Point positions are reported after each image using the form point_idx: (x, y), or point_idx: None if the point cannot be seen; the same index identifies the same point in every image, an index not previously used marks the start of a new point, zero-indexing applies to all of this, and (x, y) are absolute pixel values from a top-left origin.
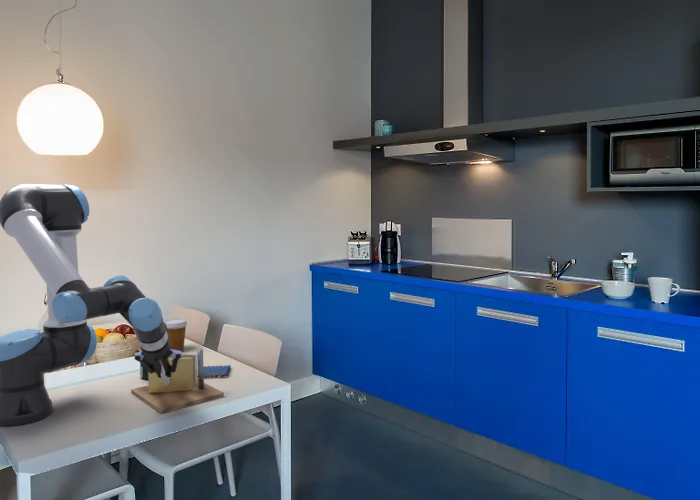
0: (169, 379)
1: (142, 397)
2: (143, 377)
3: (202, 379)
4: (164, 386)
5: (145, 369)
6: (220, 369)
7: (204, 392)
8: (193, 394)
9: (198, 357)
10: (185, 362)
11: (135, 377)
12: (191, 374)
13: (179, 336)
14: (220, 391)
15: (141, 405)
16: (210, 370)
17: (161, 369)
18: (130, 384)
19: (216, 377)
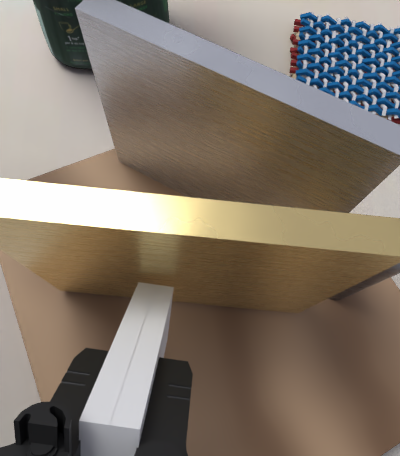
0: (170, 308)
1: (22, 337)
2: (57, 58)
3: (371, 285)
4: None
5: (55, 27)
6: (381, 58)
7: (361, 355)
8: (303, 372)
9: None
10: (322, 261)
11: (33, 31)
12: (326, 293)
13: None
14: None
15: (18, 408)
16: (343, 64)
17: (83, 451)
18: (3, 97)
19: None
